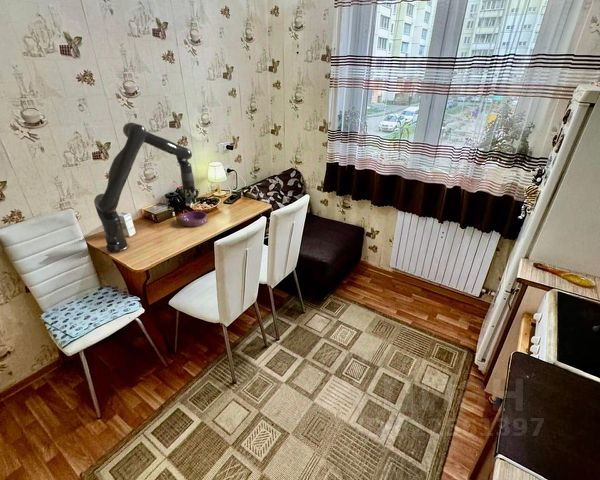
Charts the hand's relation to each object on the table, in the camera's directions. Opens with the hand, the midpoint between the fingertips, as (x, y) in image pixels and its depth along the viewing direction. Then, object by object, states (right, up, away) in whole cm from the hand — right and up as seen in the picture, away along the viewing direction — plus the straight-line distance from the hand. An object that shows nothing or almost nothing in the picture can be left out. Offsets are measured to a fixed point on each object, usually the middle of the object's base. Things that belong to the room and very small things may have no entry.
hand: (191, 203), depth 208 cm
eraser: (0, 0, 0) cm, 0 cm away
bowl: (0, -12, +7) cm, 14 cm away
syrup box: (-36, -22, -11) cm, 43 cm away
